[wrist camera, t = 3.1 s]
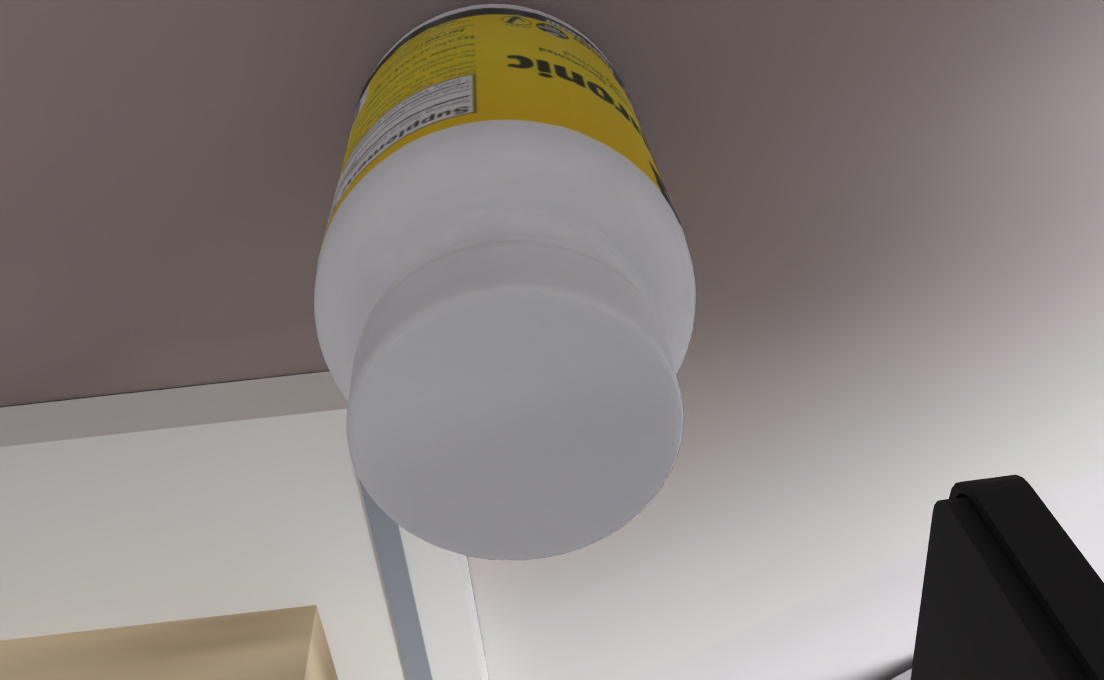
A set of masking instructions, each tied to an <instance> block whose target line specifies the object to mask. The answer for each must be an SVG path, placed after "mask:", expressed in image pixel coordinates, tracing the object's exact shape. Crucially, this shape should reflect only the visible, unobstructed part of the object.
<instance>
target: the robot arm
mask: <svg viewBox="0 0 1104 680" xmlns="http://www.w3.org/2000/svg"><path fill="white" fill-rule="evenodd" d="M911 680H1104V583H1103V581H1102V580H1101V579H1100V577H1099V576H1098V575H1097V573H1096V572H1095V571H1094V569H1093V568H1092V567H1091V565H1090V564H1089V563H1088V561H1087V560H1086V559H1085V557H1084V556H1083V555H1082V553H1081V552H1080V551H1079V549H1078V548H1077V547H1076V545H1075V544H1074V543H1073V541H1072V540H1071V539H1070V537H1069V536H1068V535H1067V533H1066V532H1065V531H1064V529H1063V528H1062V527H1061V525H1060V524H1059V523H1058V521H1057V520H1056V519H1055V517H1054V516H1053V515H1052V513H1051V512H1050V511H1049V509H1048V508H1047V507H1046V505H1045V504H1044V503H1043V501H1042V500H1041V499H1040V497H1039V496H1038V495H1037V494H1036V492H1035V491H1034V490H1033V488H1032V487H1031V486H1030V484H1029V483H1028V482H1027V481H1026V480H1025V479H1024V478H1023V477H1020V476H1018V475H1010V476H1002V477H995V478H987V479H979V480H972V481H964V482H959V483H955V485H954V486H953V488H952V489H951V493H950V497H949V499H946V500H940V501H937V502H936V504H935V505H934V509H933V515H932V522H931V530H930V537H929V545H928V552H927V560H926V567H925V575H924V582H923V590H922V597H921V605H920V612H919V620H918V627H917V635H916V642H915V650H914V657H913V665H912V672H911Z"/></svg>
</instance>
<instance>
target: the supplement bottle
mask: <svg viewBox="0 0 1104 680" xmlns="http://www.w3.org/2000/svg"><path fill="white" fill-rule="evenodd" d="M695 304H696V286H695V276H694V270H693V265H692V260H691V257H690V253H689V250H688V246H687V243H686V240H685V235H684V231H683V228H682V226H681V224H680V222H679V219H678V217H677V215H676V213H675V210H674V208H673V206H672V203H671V201H670V198H669V196H668V193H667V191H666V189H665V186H664V184H663V182H662V179H661V177H660V174H659V172H658V169H657V166H656V164H655V162H654V159H653V157H652V154H651V152H650V149H649V147H648V144H647V141H646V139H645V137H644V134H643V132H642V129H641V127H640V124H639V121H638V118H637V116H636V113H635V111H634V109H633V106H632V104H631V101H630V99H629V96H628V94H627V92H626V89H625V87H624V85H623V83H622V82H621V80H620V78H619V76H618V74H617V73H616V71H615V69H614V68H613V66H612V65H611V63H610V62H609V61H608V59H607V58H606V57H605V56H604V54H603V53H602V52H601V51H600V50H599V48H597V47H596V46H595V45H594V44H593V43H592V42H591V41H590V40H589V39H588V38H587V37H586V36H585V35H583V34H582V33H580V32H579V31H578V30H576V29H575V28H574V27H572V26H570V25H569V24H567V23H565V22H563V21H561V20H559V19H557V18H555V17H553V16H551V15H549V14H546V13H543V12H541V11H538V10H535V9H531V8H527V7H523V6H517V5H509V4H481V5H472V6H468V7H463V8H459V9H455V10H451V11H448V12H446V13H443V14H441V15H438V16H436V17H433V18H431V19H429V20H428V21H426V22H424V23H422V24H420V25H419V26H417V27H416V28H414V29H413V30H411V31H410V32H408V33H407V34H406V35H405V36H404V37H402V38H401V39H400V40H399V41H398V42H397V43H396V44H395V45H394V46H393V47H392V48H391V49H390V50H389V51H388V52H387V53H386V54H385V55H384V56H383V58H382V59H381V61H380V62H379V63H378V65H377V66H376V68H375V69H374V71H373V72H372V74H371V76H370V78H369V80H368V81H367V83H366V85H365V87H364V89H363V91H362V94H361V97H360V100H359V103H358V106H357V110H356V113H355V117H354V121H353V125H352V129H351V132H350V136H349V140H348V145H347V149H346V153H345V156H344V160H343V165H342V169H341V173H340V176H339V180H338V184H337V188H336V191H335V195H334V200H333V204H332V207H331V212H330V215H329V219H328V223H327V226H326V230H325V234H324V238H323V241H322V245H321V249H320V253H319V258H318V264H317V273H316V280H315V290H314V315H315V323H316V331H317V335H318V340H319V345H320V348H321V351H322V354H323V357H324V360H325V362H326V364H327V366H328V368H329V371H330V373H331V375H332V376H333V378H334V380H335V382H336V384H337V386H338V387H339V389H340V390H341V392H342V393H343V395H344V397H345V398H346V399H347V401H348V407H347V419H346V426H347V441H348V446H349V451H350V455H351V459H352V463H353V465H354V468H355V470H356V473H357V475H358V477H359V479H360V481H361V482H362V484H363V486H364V487H365V489H366V491H367V492H368V494H369V495H370V497H371V498H372V499H373V500H374V502H375V503H376V504H377V505H378V506H379V507H380V508H381V509H382V510H383V511H384V512H385V513H386V514H387V515H388V516H389V517H390V519H392V520H393V521H394V522H396V523H397V524H398V525H400V526H401V527H402V528H404V529H405V530H406V531H408V532H409V533H411V534H413V535H415V536H417V537H418V538H420V539H422V540H424V541H426V542H428V543H430V544H432V545H434V546H437V547H439V548H442V549H445V550H449V551H452V552H455V553H458V554H462V555H465V556H471V557H477V558H483V559H489V560H529V559H538V558H545V557H550V556H555V555H559V554H564V553H567V552H570V551H573V550H576V549H580V548H582V547H584V546H587V545H589V544H591V543H594V542H596V541H598V540H601V539H602V538H604V537H606V536H608V535H609V534H611V533H613V532H614V531H616V530H618V529H619V528H621V527H622V526H623V525H625V524H626V523H628V522H629V521H630V520H631V519H632V518H634V517H635V516H636V515H637V514H638V513H639V512H640V511H641V510H643V509H644V508H645V507H646V506H647V504H648V503H649V502H650V501H651V500H652V499H653V498H654V496H655V495H656V494H657V492H658V491H659V490H660V488H661V487H662V485H663V484H664V482H665V480H666V479H667V477H668V475H669V473H670V472H671V470H672V468H673V465H674V462H675V459H676V457H677V455H678V452H679V448H680V443H681V439H682V433H683V424H684V410H683V404H682V397H681V391H680V387H679V383H678V380H677V376H676V375H677V373H678V371H679V368H680V366H681V364H682V362H683V360H684V357H685V355H686V352H687V350H688V346H689V342H690V339H691V335H692V332H693V325H694V317H695Z"/></svg>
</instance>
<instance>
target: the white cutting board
mask: <svg viewBox="0 0 1104 680" xmlns="http://www.w3.org/2000/svg"><path fill="white" fill-rule="evenodd" d="M347 407H348V401H347V399H346V398H345V397H344V395H343V393H342V392H341V390H340V389H339V387H338V386H337V384H336V382H335V380H334V378H333V376H332V375H331V373H330V371H327V372H318V373H309V374H300V375H291V376H282V377H273V378H264V379H255V380H246V381H237V382H227V383H218V384H209V385H200V386H191V387H182V388H173V389H164V390H155V391H146V392H137V393H128V394H119V395H110V396H100V397H91V398H82V399H73V400H64V401H55V402H46V403H37V404H28V405H19V406H10V407H1V408H0V640H9V639H18V638H27V637H36V636H45V635H54V634H63V633H71V632H80V631H89V630H98V629H107V628H116V627H125V626H134V625H143V624H151V623H160V622H169V621H178V620H187V619H196V618H205V617H214V616H223V615H231V614H240V613H249V612H258V611H267V610H276V609H285V608H294V607H303V606H311V605H317V609H318V612H319V615H320V619H321V622H322V626H323V629H324V633H325V636H326V639H327V643H328V646H329V650H330V653H331V657H332V660H333V663H334V667H335V670H336V674H337V677H338V680H489V679H488V673H487V668H486V662H485V657H484V651H483V645H482V640H481V634H480V629H479V623H478V617H477V612H476V606H475V601H474V595H473V589H472V584H471V578H470V573H469V567H468V561H467V556H465V555H462V554H458V553H455V552H452V551H449V550H445V549H442V548H439V547H437V546H434V545H432V544H430V543H428V542H426V541H424V540H422V539H420V538H418V537H417V536H415V535H413V534H411V533H409V532H408V531H406V530H405V529H404V528H402V527H401V526H400V525H398V524H397V523H396V522H394V521H393V520H392V519H390V517H389V516H388V515H387V514H386V513H385V512H384V511H383V510H382V509H381V508H380V507H379V506H378V505H377V504H376V503H375V502H374V500H373V499H372V498H371V497H370V495H369V494H368V492H367V491H366V489H365V487H364V486H363V484H362V482H361V481H360V479H359V477H358V475H357V473H356V470H355V468H354V465H353V463H352V459H351V455H350V451H349V446H348V441H347V426H346V419H347Z"/></svg>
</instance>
